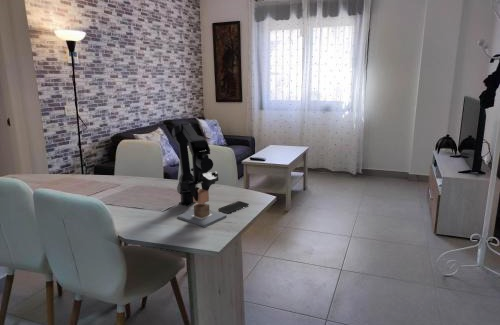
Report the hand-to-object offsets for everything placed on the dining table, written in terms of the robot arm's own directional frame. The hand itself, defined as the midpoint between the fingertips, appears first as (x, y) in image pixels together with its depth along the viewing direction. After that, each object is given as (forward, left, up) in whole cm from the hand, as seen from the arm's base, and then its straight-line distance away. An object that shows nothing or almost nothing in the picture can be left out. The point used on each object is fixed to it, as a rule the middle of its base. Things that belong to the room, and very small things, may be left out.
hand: (200, 199), depth 160 cm
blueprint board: (0, 0, -9) cm, 9 cm away
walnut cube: (0, 0, -8) cm, 8 cm away
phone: (+4, +18, -9) cm, 21 cm away
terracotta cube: (0, 0, -1) cm, 1 cm away
